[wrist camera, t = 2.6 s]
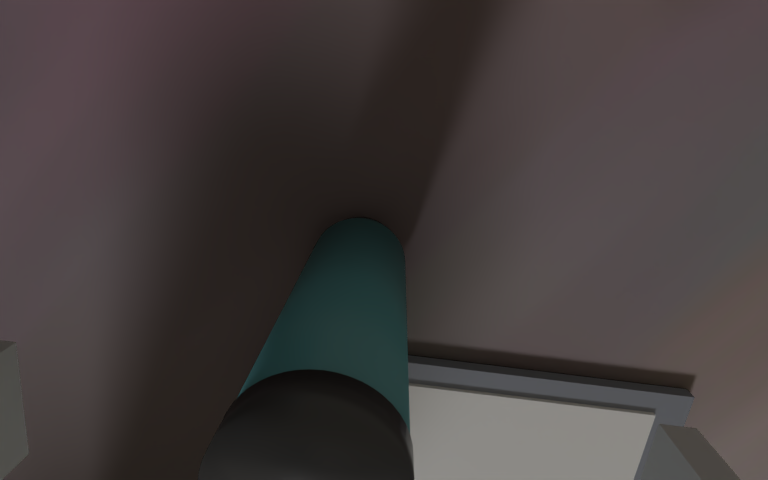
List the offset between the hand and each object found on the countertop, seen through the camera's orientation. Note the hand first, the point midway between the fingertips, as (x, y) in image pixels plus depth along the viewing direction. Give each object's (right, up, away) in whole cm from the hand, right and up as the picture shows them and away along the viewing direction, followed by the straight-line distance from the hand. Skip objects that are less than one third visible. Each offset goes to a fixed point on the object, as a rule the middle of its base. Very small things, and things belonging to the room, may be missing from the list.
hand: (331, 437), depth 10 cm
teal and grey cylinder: (0, +4, +10) cm, 11 cm away
